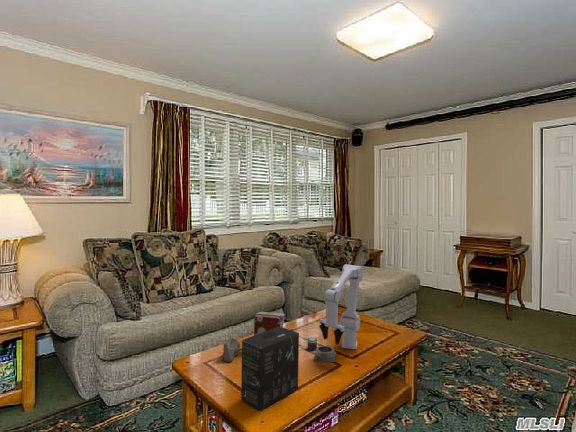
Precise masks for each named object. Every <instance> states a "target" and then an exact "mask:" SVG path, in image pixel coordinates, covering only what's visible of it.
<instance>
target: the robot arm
mask: <svg viewBox="0 0 576 432" xmlns="http://www.w3.org/2000/svg"><path fill="white" fill-rule="evenodd" d="M341 271H342V273H341V275H340V277H339V279H337V280H335V281H334V282H333V284H332V285H331V286H330V288H328V289H326V290H325V291H324V295H323V299H324V304H325V319H323V318H320V319H319V328H320V330H321V334H322V337H323V340H324V341H325V340H328V338H329V328H332V329H335V330H333V334H334V342H335V343H334V344H335V345H339V344H340V342H341V338H342V343H341V348H343V349H350V350H351V349H352V350H357V348H358V341H357V331H359V330H360V327H361V317H360V314H358V313H357V303H358V296H359V287H360V282H362V281H363V276H364V269H363V267H362V265H354V264H348V263H345V264H344V265H343V266H342V269H341ZM347 282H349V287H348V296H347V303H346V311H343V313H342V314H341V316H340V319H339V318H338V317H339V313H338V310H339V302H340V300H341V297H342V293H343V291H344V290H345V288H346V283H347ZM338 319H339V322H338Z"/></svg>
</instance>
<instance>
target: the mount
mask: <svg viewBox="0 0 576 432" xmlns="http://www.w3.org/2000/svg"><path fill="white" fill-rule="evenodd" d="M336 355H337V352H336V351H335V348H333V347H332V346H331V345H323V344H322V345H319V346H318V345H317V348H316V350H315V353H314V356H313V361H317V362H325V363H335V359H336Z"/></svg>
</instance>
